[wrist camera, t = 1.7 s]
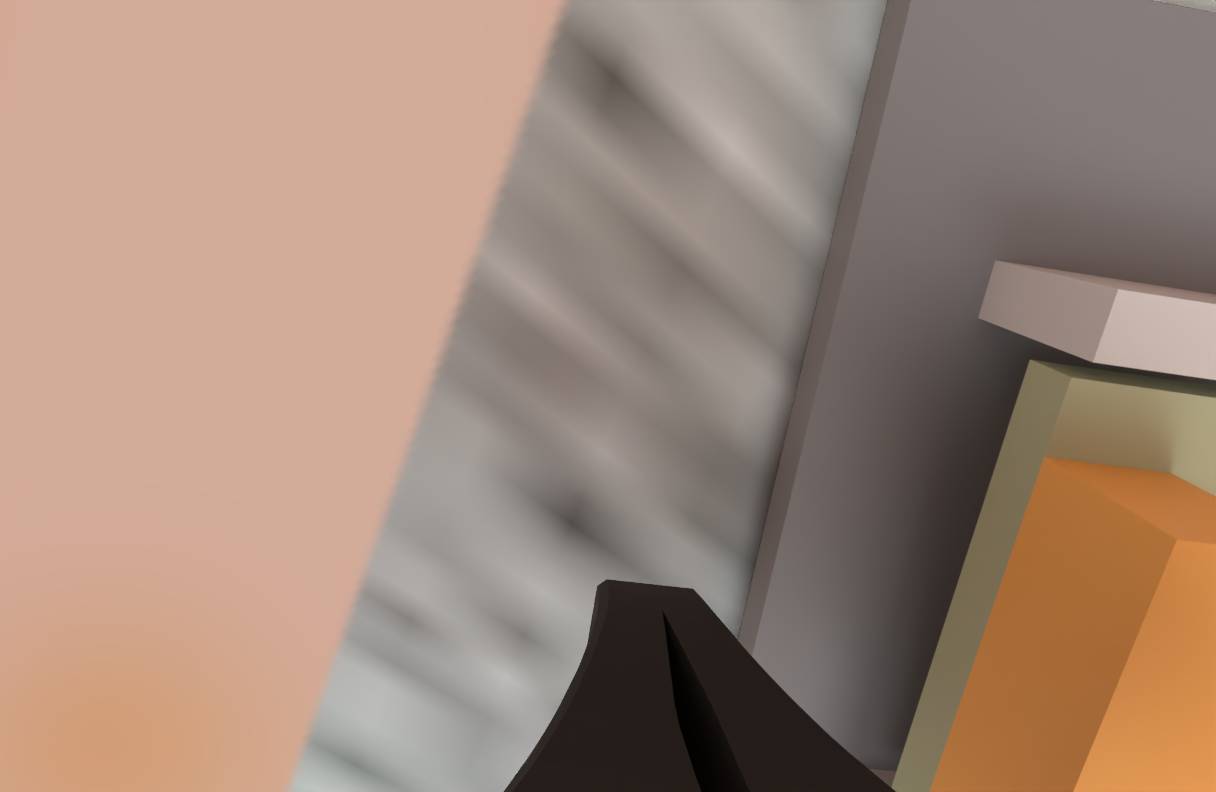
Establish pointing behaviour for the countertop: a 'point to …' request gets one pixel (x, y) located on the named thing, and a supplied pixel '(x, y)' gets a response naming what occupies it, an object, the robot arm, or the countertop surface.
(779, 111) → the countertop surface
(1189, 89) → the socket board
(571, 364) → the countertop surface
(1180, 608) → the plate
